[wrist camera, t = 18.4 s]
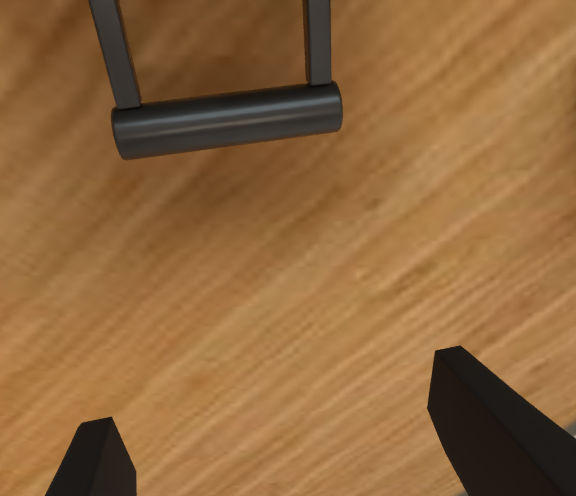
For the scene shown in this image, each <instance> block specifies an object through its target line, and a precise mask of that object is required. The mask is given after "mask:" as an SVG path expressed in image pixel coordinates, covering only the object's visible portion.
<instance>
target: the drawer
mask: <svg viewBox="0 0 576 496" xmlns="http://www.w3.org/2000/svg"><path fill="white" fill-rule="evenodd" d="M88 1H89V5H90V9H91V13H92V16H93V20H94V24H95V28H96V31H97V35H98V39H99V43H100V46H101V50H102V54H103V58H104V61H105V65H106V69H107V73H108V76H109V80H110V84H111V88H112V91H113V95H114V99H115V102H116V106H115V107H114V108H112V111H111V124H112V131H113V136H114V140H115V143H116V147H117V150H118V152H119V154H120V156H121V158H122V159H123V160H133V159H141V158H148V157H156V156H163V155H170V154H178V153H185V152H192V151H200V150H207V149H215V148H222V147H229V146H237V145H244V144H251V143H259V142H266V141H274V140H281V139H288V138H296V137H303V136H310V135H318V134H325V133H333V132H337V131H339V130H340V128H341V125H342V119H343V106H342V98H341V93H340V90H339V87H338V85H337V83H336V82H335V81H332V80H331V9H330V0H302V2H303V25H304V48H305V71H306V81H307V82H308V83H304V84H296V85H288V86H280V87H271V88H263V89H255V90H247V91H239V92H230V93H222V94H214V95H206V96H198V97H189V98H181V99H173V100H165V101H156V102H148V103H141V101H142V97H141V93H140V89H139V85H138V80H137V76H136V72H135V68H134V63H133V59H132V55H131V51H130V46H129V42H128V38H127V34H126V29H125V25H124V21H123V17H122V12H121V8H120V4H119V0H88Z"/></svg>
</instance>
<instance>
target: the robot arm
mask: <svg viewBox="0 0 576 496" xmlns="http://www.w3.org/2000/svg"><path fill="white" fill-rule="evenodd" d="M427 409H428V412H429V414H430V417H431V419H432V422H433V424H434V427H435V429H436V432H437V434H438V437H439V439H440V441H441V444H442V446H443V448H444V451H445V453H446V455H447V457H448V458H449V460H450V462H451V464H452V466H453V468H454V470H455V471H456V473H457V475H458V477H459V479H460V481H461V482H462V484H463V486H464V488H465V490H466V492H467V493H468V495H469V496H576V438H574V437H573V436H572V435H570V434H569V433H568V432H566V431H565V430H564V429H562V428H561V427H560V426H558V425H557V424H556V423H554V422H553V421H552V420H551V419H549V418H548V417H547V416H545V415H544V414H543V413H542V412H540V411H539V410H538V409H537V408H535V407H534V406H533V405H531V404H530V403H529V402H528V401H526V400H525V399H524V398H523V397H522V396H520V395H519V394H518V393H517V392H515V391H514V390H513V389H512V388H511V387H509V386H508V385H507V384H506V383H505V382H503V381H502V380H501V379H500V378H499V377H497V376H496V375H495V374H494V373H493V372H491V371H490V370H489V369H488V368H487V367H486V366H484V365H483V364H482V363H481V362H480V361H478V360H477V359H476V358H475V357H474V356H473V355H471V354H470V353H469V352H468V351H467V350H465V349H464V348H463V347H462V346H455V347H450V348H446V349H441V350H436V351H435V355H434V362H433V369H432V377H431V384H430V391H429V398H428V406H427ZM45 496H137V493H136V470H135V468H134V465H133V463H132V461H131V459H130V456H129V454H128V452H127V450H126V448H125V445H124V443H123V441H122V439H121V436H120V434H119V432H118V430H117V427H116V425H115V423H114V421H113V418H112V417H108V418H103V419H98V420H93V421H88V422H83V423H81V425H80V426H79V427H78V429H77V431H76V433H75V435H74V437H73V440H72V442H71V444H70V446H69V448H68V450H67V452H66V454H65V456H64V458H63V460H62V462H61V465H60V467H59V469H58V471H57V473H56V475H55V477H54V479H53V481H52V482H51V484H50V486H49V488H48V490H47V492H46V494H45Z"/></svg>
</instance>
